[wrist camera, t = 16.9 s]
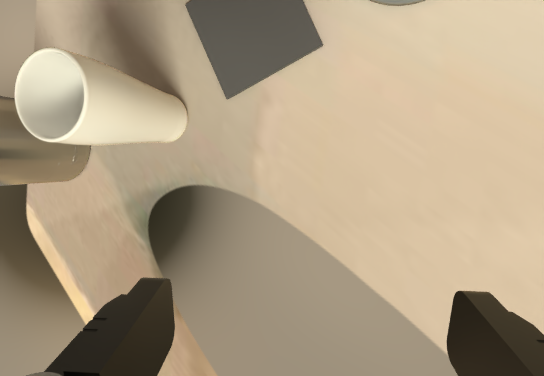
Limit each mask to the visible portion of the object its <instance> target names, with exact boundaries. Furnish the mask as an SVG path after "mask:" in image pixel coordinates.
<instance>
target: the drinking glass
mask: <svg viewBox="0 0 544 376" xmlns="http://www.w3.org/2000/svg"><path fill="white" fill-rule="evenodd" d="M14 92H15V93H14V97H15V105H16V109H17V113H18V116H19V118H20V120H21V122H22V124H23V125H24V127H25V128H26V129H27V130H28V131H29V132H30V133H31V134H32V135H33V136H35V137H36V138H38V139H40V140H43V141H46V142H54V143H62V144H72V145H116V144H133V143H153V142H158V143H169V142H173V141H175V140H177V139H178V138H179V137H180V136H181V135H182V134H183V133H184V131H185V129H186V126H187V120H188V117H187V111H186V108H185V106H184V104H183V103H182V102H181V101H180V100H179V99H178V98H177V97H175V96H173V95H171V94H168V93H165V92H163V91H160V90H158V89H156V88H154V87H152V86H150V85H148V84H146V83H144V82H142V81H140V80H138V79H136V78H134V77H132V76H130V75H128V74H126V73H123V72H121V71H119V70H117V69H115V68H113V67H111V66H109V65H106V64H104V63H102V62H99V61H97V60H94V59H91V58H89V57H86V56H83V55H80V54H76V53H73V52H70V51H66V50H63V49H60V48H55V47H47V48H42V49H40V50H38V51H36V52H34V53H33V54H31V55H30V56H29V57H28V58H27V59H26V60H25V62H24V63H23V65H22V66H21V68H20V70H19V72H18V75H17V78H16V83H15V91H14Z"/></svg>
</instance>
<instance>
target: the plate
mask: <svg viewBox="0 0 544 376" xmlns="http://www.w3.org/2000/svg"><path fill="white" fill-rule="evenodd" d="M370 1H373V2H376V3H379V4H384V5H391V6H402V5H410V4H415V3H419V2H422V1H425V0H370Z"/></svg>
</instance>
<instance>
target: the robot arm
mask: <svg viewBox="0 0 544 376" xmlns="http://www.w3.org/2000/svg"><path fill="white" fill-rule="evenodd" d="M89 153H90V145H72V144H62V143H54V142H46V141H43V140H40V139H38V138H36V137H35V136H33V135H32V134H31V133H30V132H29V131H28V130H27V129H26V128H25V127H24V125H23V124H22V122H21V120H20V118H19V116H18V113H17V109H16V105H15V99H14V98H8V97H2V96H0V186H1V185H15V184H31V183H47V182H62V181H69V180H71V179H74V178H75V177H76V176H78V175H79V174H80V173H81V172H82V170H83V169H84V167H85V165H86V164H87V161H88V158H89ZM174 330H175V323H174V310H173V298H172V286H171V282H170V280H169V279H167V278H166V279H165V278H141V279H140V280H139V281H138V282H137V284H136V285H135V286H134V287H133V288H132V290H131V291H130V292H129V293H128V294H127V295H124V294H121V295H120V296H118V297H116V298H115V299H113V300H112V301H110V302H108V303H107V304H105V305H104V306H103V307H102V308H101V309H100V310H99V312H98V313H97V314H96V315H95V316H94V317H93V320H90V321H89V323H88V324H87V325H86V326H85V327H84V328H83V331H80V333H79V334H78V335H77V336H76V337H75V338H74V339H73V340H72V341H71V342H70V344H69V345H68V346H67V347H66V348H65V349H64V350H63V351H62V352H61V354H60V355H59V356H58V357H57V358H56V359H55V360H54V361H53V362H52V364H51V365H50V366H49V367H48V368H47V369H46V370H45V371H44V372H39V373H34V374H30V375H27V376H157V375H158V373H159V371H160V369H161V367H162V365H163V363H164V361H165V359H166V356H167V354H168V352H169V350H170V348H171V346H172V342H173V338H174ZM447 351H448V356H449V359H450V362H451V364H452V366H453V367H454V369H455V371H456V373H457V374H458V376H544V335H543V334H542V333H541V332H540V331H539V330H538V329H537V328H536V327H535V326H534V325H533V324H531V323H529V322H528V321H526V320H524V319H523V318H521V317H520V316H518V315H516V314H515V313H513V312H508V311H507V310H506V309H505V307H504V306H503V305H502V304H501V303H500V302H499V301H498V300H497V299H496V298H495V297H494V296H493V295H492V294H491V293H489V292H475V291H458V292H456V294H455V295H454V299H453V305H452V311H451V317H450V323H449V329H448V335H447Z"/></svg>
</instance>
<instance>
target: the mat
mask: <svg viewBox="0 0 544 376" xmlns="http://www.w3.org/2000/svg"><path fill="white" fill-rule="evenodd" d="M185 6H186V8H187V10H188V12H189V15H190V17H191V19H192V21H193V24H194V26H195V28H196V31H197V33H198V35H199V37H200V40H201V42H202V44H203V46H204V49H205V51H206V53H207V56H208V58H209V60H210V62H211V65H212V67H213V69H214V72H215V74H216V76H217V78H218V81H219V83H220V85H221V87H222V90H223V92H224V94H225V97H226V99H229V98H231V97H233V96H235V95H237V94H238V93H240V92H242V91H244V90H245V89H247V88H249V87H251V86H253V85H254V84H256V83H258V82H260V81H261V80H263V79H265V78H267V77H269V76H270V75H272V74H274V73H276V72H277V71H279V70H281V69H283V68H285V67H286V66H288V65H290V64H292V63H293V62H295V61H297V60H299V59H301V58H302V57H304V56H306V55H308V54H309V53H311V52H313V51H315V50H317V49H318V48H320V47H322V46H323V44H322V42H321V40H320V37H319V35H318V33H317V31H316V29H315V27H314V24H313V22H312V20H311V18H310V16H309V13H308V11H307V9H306V7H305V5H304V2H303V0H192V1H190V2H189V3H187V4H186V5H185Z"/></svg>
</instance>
